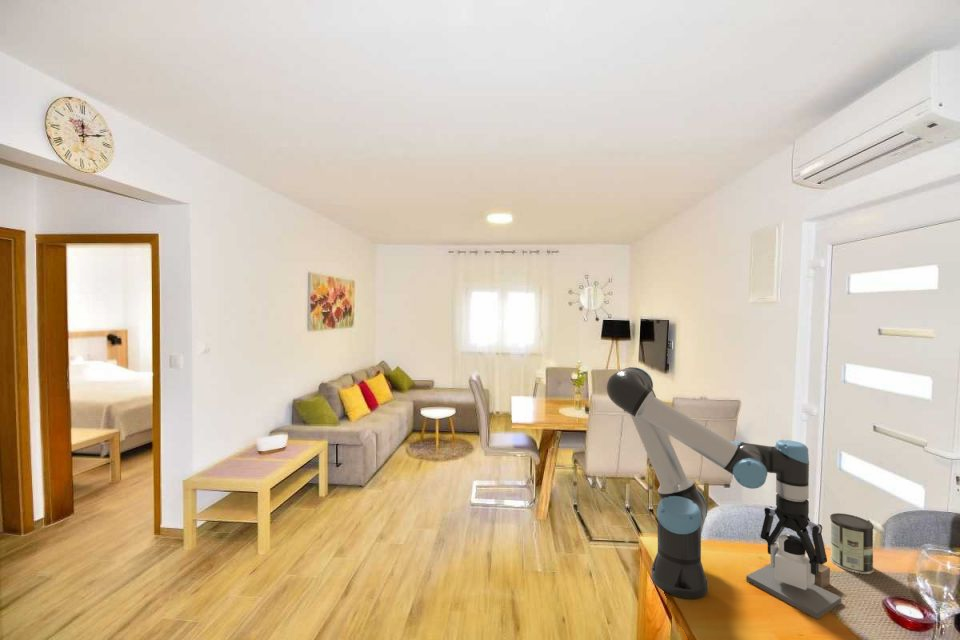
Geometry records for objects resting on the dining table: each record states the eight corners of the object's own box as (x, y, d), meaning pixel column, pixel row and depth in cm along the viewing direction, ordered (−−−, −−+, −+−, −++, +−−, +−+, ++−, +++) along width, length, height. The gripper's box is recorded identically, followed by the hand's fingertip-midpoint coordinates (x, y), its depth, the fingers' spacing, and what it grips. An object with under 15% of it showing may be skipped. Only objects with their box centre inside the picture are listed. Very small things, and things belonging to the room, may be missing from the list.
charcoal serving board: (746, 580, 125) (746, 575, 125) (770, 568, 131) (770, 563, 131) (817, 619, 109) (817, 613, 109) (841, 602, 115) (841, 597, 115)
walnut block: (801, 579, 125) (801, 563, 125) (810, 575, 128) (810, 558, 128) (821, 589, 121) (821, 572, 121) (829, 584, 123) (829, 567, 123)
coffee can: (858, 557, 137) (858, 514, 137) (882, 576, 127) (882, 530, 127) (822, 553, 139) (822, 511, 139) (842, 572, 129) (843, 526, 129)
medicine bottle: (809, 579, 120) (809, 537, 120) (806, 591, 115) (806, 547, 115) (779, 569, 125) (779, 529, 125) (774, 580, 120) (774, 538, 120)
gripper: (844, 508, 112) (844, 592, 112) (760, 481, 131) (760, 552, 131) (830, 514, 109) (830, 601, 109) (746, 485, 128) (746, 559, 128)
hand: (792, 574), depth 120 cm, fingers closed on medicine bottle, 8 cm apart
